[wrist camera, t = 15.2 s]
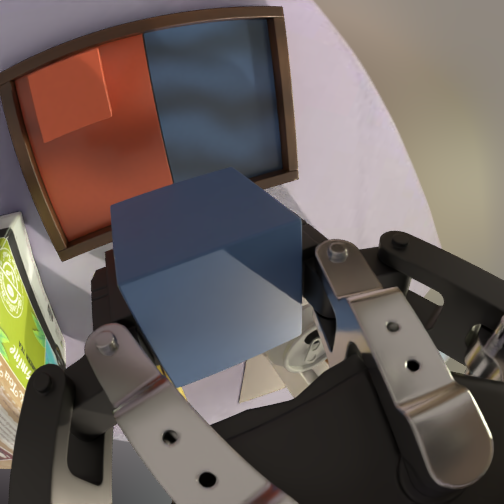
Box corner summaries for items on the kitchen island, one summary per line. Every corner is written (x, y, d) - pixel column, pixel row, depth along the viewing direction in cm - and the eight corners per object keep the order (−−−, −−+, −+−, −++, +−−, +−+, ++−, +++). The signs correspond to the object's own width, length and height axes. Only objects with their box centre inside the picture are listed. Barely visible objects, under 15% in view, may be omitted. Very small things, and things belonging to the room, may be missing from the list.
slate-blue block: (109, 204, 9) (116, 285, 6) (232, 165, 11) (302, 218, 7) (148, 300, 12) (176, 389, 9) (246, 264, 13) (302, 335, 10)
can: (293, 244, 34) (366, 311, 24) (271, 298, 36) (329, 370, 27) (233, 239, 30) (300, 319, 21) (214, 300, 33) (265, 386, 24)
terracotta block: (42, 77, 14) (26, 75, 11) (100, 55, 16) (97, 47, 12) (55, 133, 17) (43, 143, 14) (112, 111, 18) (112, 116, 15)
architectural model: (398, 274, 48) (495, 358, 31) (359, 356, 59) (428, 433, 41) (255, 312, 36) (374, 474, 19) (238, 403, 47) (308, 516, 29)
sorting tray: (3, 75, 13) (-4, 74, 12) (272, 9, 19) (282, 6, 18) (63, 252, 22) (61, 262, 21) (289, 173, 29) (299, 179, 27)
